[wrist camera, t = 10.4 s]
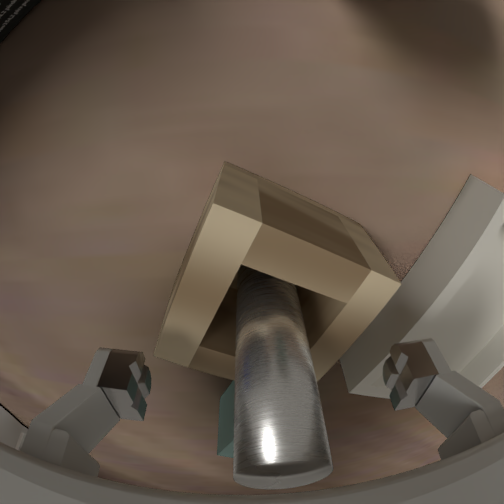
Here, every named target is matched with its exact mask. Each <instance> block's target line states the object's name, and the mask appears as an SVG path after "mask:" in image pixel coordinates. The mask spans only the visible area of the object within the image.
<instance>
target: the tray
mask: <svg viewBox="0 0 504 504" xmlns="http://www.w3.org/2000/svg"><path fill="white" fill-rule="evenodd" d="M429 338H432V339H433V340H434V341H435V343H436V345H437V346H438V348H439V350H440V352H441V353H442V355H443V357H444V359H445V360H446V362H447V364H448V366H449V368H450V370H451V371H456V372H457V373H459V374H460V375H462V376H463V377H465V378H466V379H468V380H470V381H471V382H473V383H474V384H476V385H477V386H479V387H480V388H482V387H483V386H484V385H485V384H486V383H487V382H488V381H489V380H490V379H491V378H492V377H493V376H494V375H495V374H496V373H497V372H498V371H499V370H500V369H501V368H502V367H503V366H504V193H502V192H500V191H499V190H497V189H495V188H494V187H492V186H490V185H489V184H487V183H485V182H484V181H482V180H480V179H478V178H477V177H475V176H473V175H471V174H470V176H469V178H468V180H467V182H466V183H465V185H464V187H463V189H462V191H461V192H460V194H459V196H458V197H457V199H456V201H455V202H454V204H453V206H452V207H451V209H450V211H449V212H448V214H447V216H446V217H445V219H444V220H443V222H442V224H441V225H440V227H439V228H438V230H437V231H436V233H435V234H434V236H433V237H432V239H431V240H430V242H429V243H428V245H427V246H426V248H425V249H424V251H423V252H422V254H421V255H420V257H419V258H418V259H417V261H416V262H415V264H414V265H413V266H412V268H411V269H410V271H409V272H408V273H407V275H406V276H405V277H404V279H403V280H402V281H401V286H400V287H399V288H398V290H397V291H396V292H395V293H394V295H393V296H392V297H391V299H390V300H389V301H388V302H387V304H386V305H385V306H384V307H383V309H382V310H381V311H380V312H379V314H378V315H377V316H376V317H375V319H374V320H373V321H372V322H371V323H370V325H369V326H368V327H367V328H366V329H365V330H364V332H363V333H362V334H361V335H360V336H359V337H358V339H357V340H356V341H355V342H354V343H353V344H352V345H351V346H350V348H349V349H348V350H347V351H346V352H345V353H344V354H343V355H342V356H341V357H340V359H339V360H340V363H341V367H342V370H343V374H344V378H345V381H346V385H347V389H348V392H349V393H352V394H358V395H365V396H372V397H379V398H387V399H390V397H389V395H390V392H391V389H389V388H388V387H387V386H385V383H384V380H383V365H384V363H385V360H386V359H388V358H389V357H390V356H391V355H390V352H389V351H390V349H391V346H392V345H394V344H396V343H403V342H409V341H415V340H423V339H429Z"/></svg>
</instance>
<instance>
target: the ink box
mask: <svg viewBox="0 0 504 504" xmlns="http://www.w3.org/2000/svg"><path fill="white" fill-rule="evenodd" d="M40 1H41V0H0V43H1V42H2V40H3V39H4V38H5V37H6V36H7V35H8V33H9V32H10V31H11V30H12V29H13V28H14V27H15V26H16V25H17V24H18V23H19V22H20V20H21V19H22V18H23V17H24V16H25V15H26V14H27V13H28V12H29V11H30V10H31V9H32V8H33V7H34V6H35V5H37V4H38V3H39V2H40Z"/></svg>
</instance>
